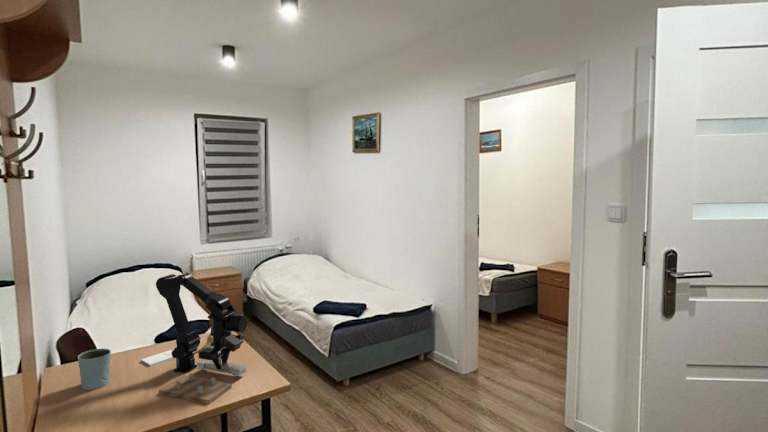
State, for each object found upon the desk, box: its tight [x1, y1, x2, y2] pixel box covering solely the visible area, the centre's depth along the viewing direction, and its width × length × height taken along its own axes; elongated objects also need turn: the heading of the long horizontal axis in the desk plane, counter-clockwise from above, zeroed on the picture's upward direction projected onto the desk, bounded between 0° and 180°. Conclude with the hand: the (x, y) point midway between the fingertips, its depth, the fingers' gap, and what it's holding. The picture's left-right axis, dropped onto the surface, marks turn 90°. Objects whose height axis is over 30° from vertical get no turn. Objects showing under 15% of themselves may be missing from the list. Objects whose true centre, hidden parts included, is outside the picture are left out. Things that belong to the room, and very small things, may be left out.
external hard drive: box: [140, 349, 175, 368], centre depth 179 cm, size 2×8×12 cm
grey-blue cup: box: [77, 348, 112, 391], centre depth 156 cm, size 10×10×12 cm
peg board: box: [158, 372, 233, 405], centre depth 152 cm, size 22×12×4 cm, turn 72°
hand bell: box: [202, 318, 214, 350], centre depth 192 cm, size 8×8×16 cm
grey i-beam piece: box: [196, 359, 247, 377], centre depth 166 cm, size 20×4×2 cm, turn 72°
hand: (221, 367), depth 166 cm, fingers closed on grey i-beam piece, 3 cm apart
